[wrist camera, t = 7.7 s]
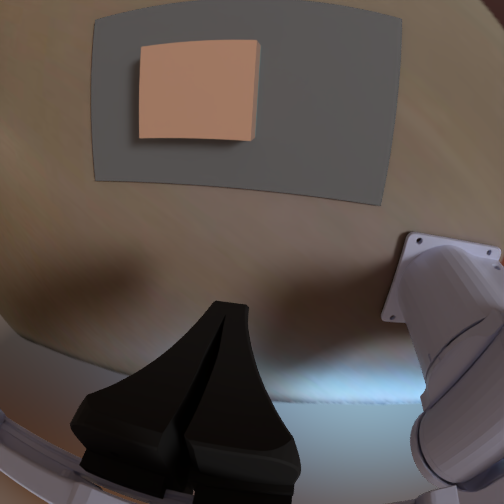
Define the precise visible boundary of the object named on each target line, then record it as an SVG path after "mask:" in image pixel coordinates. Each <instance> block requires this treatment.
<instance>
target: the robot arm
mask: <svg viewBox="0 0 504 504" xmlns="http://www.w3.org/2000/svg"><path fill="white" fill-rule="evenodd" d="M418 238H421V240H420V241H419V242H416V240H417V239H418ZM488 250H489V252H488V253H487V251H488ZM500 255H501V250H500V248H499V247H496V246H491V245H486V244H481V243H475V242H470V241H465V240H459V239H453V238H448V237H442V236H436V235H430V234H424V233H418V232H410V233H409V234H408V235H407V236H406V239H405V243H404V246H403V250H402V253H401V257H400V260H399V263H398V266H397V270H396V273H395V276H394V279H393V282H392V285H391V288H390V291H389V294H388V296H387V299H386V302H385V305H384V308H383V310H382V313H381V318H382V320H383V321H385V322H399V323H406V325H407V328H408V330H409V333H410V336H411V339H412V342H413V345H414V348H415V351H416V354H417V357H418V360H419V364H420V367H421V370H422V373H423V377H424V380H425V383H426V389H425V391H424V393H423V394H422V395H421V396H420V398H421V402H422V406H423V410H424V412H423V413H422V414H421V415H419V417H418V418H417V419H416V421H415V422H414V425H413V427H412V430H411V437H410V446H411V451H412V456H413V459H414V462H415V464H416V466H417V468H418V469H419V471H420V472H421V474H422V475H423V476H424V477H425V478H426V479H427V480H428V481H429V482H430V483H431V484H433V485H435V486H436V487H438V488H439V489H435V490H431V491H428V492H426V493H423V494H421V495H420V496H418V497H417V498H416V499H412V500H407V501H401V502H394V503H388V504H504V267H503V266H502V265H501V263H500V262H499V261H498V260H499V258H500ZM248 312H249V307H248V306H247V305H245V304H237V303H229V302H221V301H215V302H213V303H212V305H211V306H210V307H209V309H208V310H207V311H206V312H205V313H204V315H203V316H202V317H201V318H200V319H199V320H198V321H197V323H196V324H195V325H194V326H193V327H192V328H191V329H190V330H189V331H188V332H187V333H186V334H185V335H184V336H183V337H182V338H181V339H180V340H179V341H177V342H176V343H175V344H174V345H173V346H172V347H171V348H170V349H169V350H167V351H166V352H165V353H164V354H162V355H161V356H160V357H158V358H157V359H156V360H154V361H153V362H151V363H150V364H149V365H147V366H146V367H144V368H143V369H141V370H139V371H138V372H136V373H134V374H133V375H131V376H129V377H127V378H125V379H123V380H121V381H120V382H118V383H116V384H114V385H111V386H109V387H107V388H104V389H102V390H99V391H97V392H94V393H91V394H88V395H87V396H86V397H85V399H84V400H83V402H82V403H81V405H80V406H79V408H78V410H77V412H76V414H75V415H74V417H73V419H72V421H71V423H70V426H71V430H72V431H73V433H74V434H75V436H76V437H77V438H78V439H79V440H80V442H81V443H82V444H83V445H84V446H85V447H86V451H85V453H84V456H83V458H80V457H77V456H75V455H73V454H71V453H69V452H67V451H65V450H63V449H61V448H59V447H57V446H55V445H53V444H51V443H49V442H48V441H46V440H44V439H42V438H40V437H38V436H37V435H35V434H33V433H31V432H30V431H28V430H26V429H25V428H23V427H21V426H20V425H18V424H17V423H15V422H13V421H12V420H10V419H9V418H7V417H6V415H5V414H4V413H3V411H2V410H1V409H0V470H1V471H2V472H3V473H4V474H6V475H8V476H9V477H10V478H11V479H13V480H14V481H15V482H17V483H18V484H20V485H22V486H23V487H24V488H26V489H27V490H29V491H30V492H32V493H33V494H35V495H36V496H38V497H40V498H41V499H43V500H45V501H46V502H48V503H50V504H137V503H134V502H131V501H128V500H126V499H123V498H120V497H118V496H115V495H112V494H110V493H107V492H105V491H103V490H102V489H101V487H99V486H97V485H100V486H102V487H104V488H107V489H109V490H112V491H115V492H117V493H120V494H122V495H125V496H128V497H131V498H134V499H137V500H140V501H143V502H146V503H149V504H291V502H292V496H293V493H294V484H295V482H296V480H297V479H298V477H299V476H300V473H301V464H300V458H299V454H298V451H297V447H296V444H295V441H294V438H293V436H292V435H291V434H290V432H289V431H288V429H287V428H286V426H285V425H284V423H283V421H282V420H281V418H280V416H279V415H278V413H277V411H276V410H275V407H274V405H273V403H272V401H271V399H270V397H269V395H268V393H267V391H266V389H265V387H264V384H263V382H262V380H261V377H260V374H259V371H258V368H257V365H256V362H255V359H254V355H253V351H252V347H251V342H250V337H249V331H248ZM392 315H394V316H393V317H391V316H392ZM92 482H93V483H92ZM94 483H95V484H97V485H95V484H94ZM193 490H194V491H195V495H193Z"/></svg>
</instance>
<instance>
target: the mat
mask: <svg viewBox="0 0 504 504" xmlns="http://www.w3.org/2000/svg"><path fill="white" fill-rule="evenodd" d="M204 40H257V41H258V42H259V44H260V45H261V56H260V72H259V88H258V103H257V119H256V135H255V138H254V139H253V140H251V141H242V140H225V139H200V138H139V82H140V58H141V47H143V46H150V45H158V44H167V43H176V42H188V41H204ZM401 41H402V19H400V18H396V17H393V16H389V15H385V14H381V13H377V12H372V11H368V10H363V9H358V8H353V7H347V6H341V5H335V4H328V3H321V2H312V1H303V0H197V1H188V2H179V3H172V4H165V5H159V6H153V7H147V8H142V9H137V10H132V11H128V12H123V13H119V14H115V15H111V16H107V17H104V18H100V19H97V20H95V27H94V38H93V52H92V73H91V122H92V145H93V159H94V171H95V181H131V182H155V183H174V184H191V185H205V186H218V187H231V188H242V189H253V190H263V191H273V192H282V193H291V194H299V195H307V196H315V197H323V198H331V199H338V200H345V201H352V202H359V203H365V204H372V205H378V206H381V202H382V197H383V192H384V187H385V181H386V176H387V170H388V164H389V159H390V152H391V146H392V139H393V132H394V124H395V116H396V108H397V99H398V88H399V76H400V62H401Z"/></svg>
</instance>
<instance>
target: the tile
mask: <svg viewBox="0 0 504 504" xmlns="http://www.w3.org/2000/svg"><path fill="white" fill-rule="evenodd" d="M260 56H261V45H260V44H259V42H258V41H257V40H204V41H188V42H176V43H167V44H158V45H150V46H143V47H141V58H140V82H139V138H200V139H225V140H242V141H251V140H253V139H254V138H255V135H256V119H257V103H258V88H259V72H260Z"/></svg>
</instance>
